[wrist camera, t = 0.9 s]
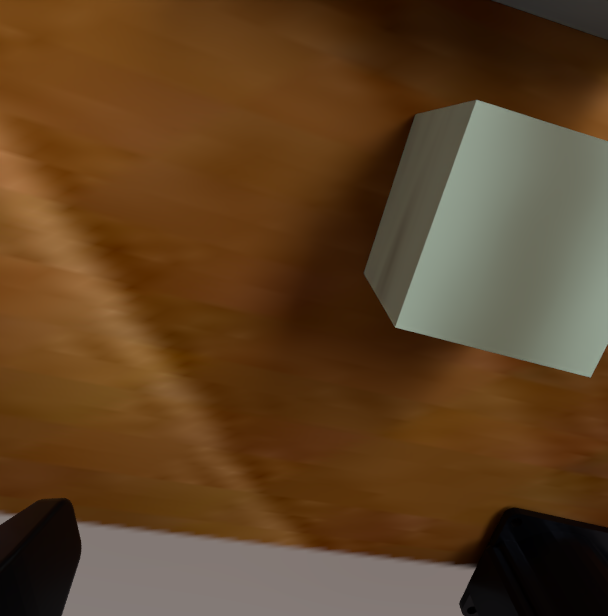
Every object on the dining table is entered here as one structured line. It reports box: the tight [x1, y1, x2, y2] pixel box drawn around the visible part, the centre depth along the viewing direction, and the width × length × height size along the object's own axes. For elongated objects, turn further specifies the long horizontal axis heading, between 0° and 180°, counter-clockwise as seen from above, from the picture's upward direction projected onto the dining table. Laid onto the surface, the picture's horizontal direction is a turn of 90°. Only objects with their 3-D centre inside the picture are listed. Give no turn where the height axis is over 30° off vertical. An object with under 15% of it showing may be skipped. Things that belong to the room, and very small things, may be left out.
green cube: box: [364, 100, 608, 377], centre depth 16 cm, size 6×6×6 cm
